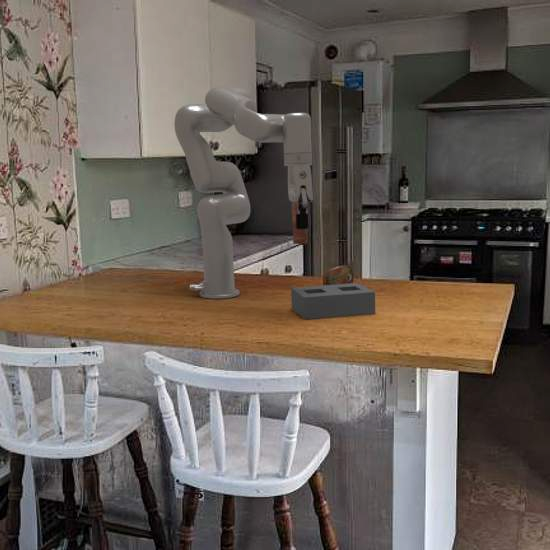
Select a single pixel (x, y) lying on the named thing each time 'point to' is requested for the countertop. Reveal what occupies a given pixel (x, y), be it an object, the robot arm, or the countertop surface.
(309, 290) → the bore block
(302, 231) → the pin
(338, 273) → the tin
